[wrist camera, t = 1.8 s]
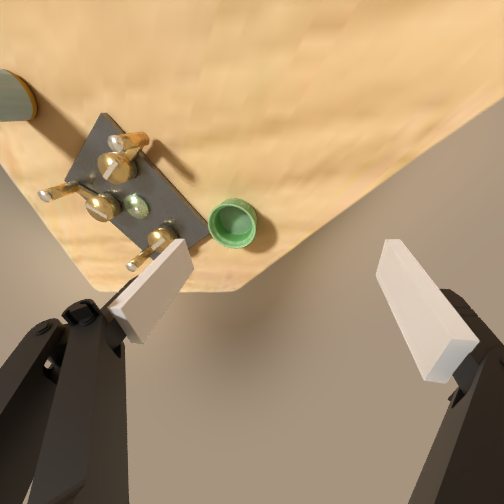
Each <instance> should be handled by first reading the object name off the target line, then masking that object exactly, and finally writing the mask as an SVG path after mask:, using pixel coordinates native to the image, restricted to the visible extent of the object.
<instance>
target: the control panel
mask: <svg viewBox="0 0 504 504" xmlns="http://www.w3.org/2000/svg"><path fill="white" fill-rule="evenodd" d="M122 134H125V133H124V131H123V130H122V129H121V128H120V127H119V126H118V125H117V124H116V123H115V122H114V121H113V119H112V118H111V117H110V116H109V115H108V114H107V113H101V114H100V116H99V118H98V119H97V121H96V123H95V125H94V127H93V128H92V130H91V132H90V134H89V136H88V138H87V139H86V141H85V143H84V145H83V147H82V149H81V150H80V152H79V154H78V156H77V158H76V160H75V161H74V163H73V165H72V167H71V169H70V171H69V172H68V174H67V176H66V178H65V180H64V181H66V182H67V183H68V182H71V181H77V182H78V183H79V184H80V185H81V186H83V187H85V188H86V189H88V190H90V191H92V192H93V193H95V194H97V195H98V194H101V193H107V194H110V195H112V196H113V197H114V198H115V199H116V200H117V201H118V203H119V205H120V207H121V212H120V214H119V215H117V216H116V217H114V218H112V219H110V220H109V221H110V222H111V223H113V224H114V225H115V226H116V227H117V228H118V229H119V230H120V231H122V232H123V233H124V234H125V235H126V236H127V237H128V238H129V239H131V240H132V241H133V242H134V243H135V244H136V245H137V246H138V247H139V248H141V249H142V250H144V249H145V248H146V247H149V246H150V245H149V243H148V235H149V234H150V233H151V232H152V231H154V230H155V229H156V228H157V227H159V226H161V225H165V226H168V227H170V228H172V229H173V230H174V231H175V232H176V234H177V237H178V239H185V241H186V244H187V247H188V249H189V248H190V247H191V246H193V245H194V244H195V243H197V242H198V241H200V240H201V239H202V238H204V237H205V236H206V235H208V234H209V233H210V231H209V228H208V223H207V222H206V221H205V220H204V219H203V218H202V217H201V215H200V214H199V213H198V212H197V211H196V210H195V209H194V208H193V207H192V206H191V205H190V203H189V202H188V201H187V200H186V199H185V198H184V197H183V196H182V195H181V194H180V193H179V191H178V190H177V189H176V188H175V187H174V186H173V185H172V184H171V183H170V182H169V181H168V179H167V178H166V177H165V176H164V175H163V174H162V173H161V172H160V171H159V170H158V169H157V167H156V166H155V165H154V164H153V163H152V162H151V161H150V160H149V159H148V158H147V157H146V155H145V154H144V153H143V152H142V151H140V153H139V154H138V155H137V157H136V158H135V159H134V162H135V164H136V168H137V174H136V177H135V178H134V179H132V180H129V181H127V182H125V183H122V184H119V185H117V184H113V183H111V182H109V181H108V180H106V179H105V178H104V177H103V175H102V174H101V172H100V170H99V168H98V158H99V156H100V155H101V154H105V153H109V152H114V151H113V150H112V149H111V148H110V147H109V145H108V141H107V140H108V137H109V136H111V135H122ZM123 152H126V150H124V151H123ZM81 196H82V195H81ZM82 197H83V198H85V199H86V200H87V198H86V197H84V196H82ZM160 254H161V253H159V252H157V251H154V253H153V254H152V255H151V256H150V257H151V258H152V259H153V260H155V259H156V258H157V257H158V256H159V255H160Z"/></svg>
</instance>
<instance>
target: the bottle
mask: <svg viewBox="0 0 504 504" xmlns="http://www.w3.org/2000/svg"><path fill="white" fill-rule="evenodd" d="M36 113H37V103H36V100H35V97H34V95H33V94H32V92H31V90H30V89H29V87H28V86H27V85H26V84H25V83H24V82H23V81H22V80H21V79H20V78H19V77H18V76H16V75H15V74H14V73H12V72H10V71H8V70H5V69H0V122H6V121H27V120H32V119H33V118H34V117H35V116H36Z"/></svg>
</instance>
